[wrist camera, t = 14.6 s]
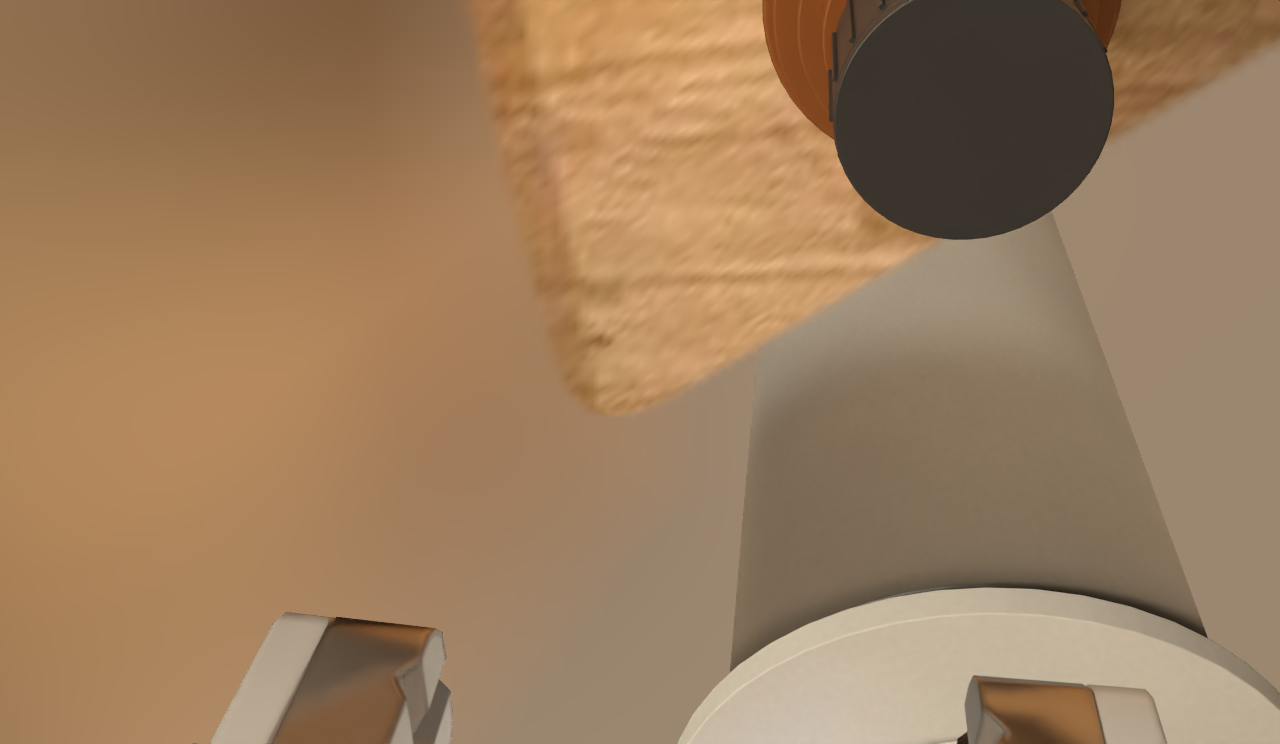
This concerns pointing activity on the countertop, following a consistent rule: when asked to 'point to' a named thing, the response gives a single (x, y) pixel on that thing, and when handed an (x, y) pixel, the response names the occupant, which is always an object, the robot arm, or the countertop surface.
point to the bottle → (802, 55)
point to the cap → (968, 109)
